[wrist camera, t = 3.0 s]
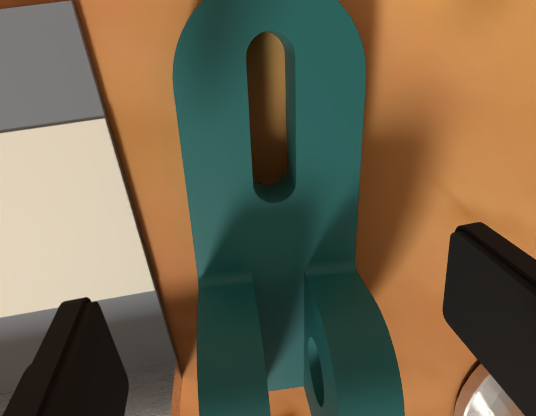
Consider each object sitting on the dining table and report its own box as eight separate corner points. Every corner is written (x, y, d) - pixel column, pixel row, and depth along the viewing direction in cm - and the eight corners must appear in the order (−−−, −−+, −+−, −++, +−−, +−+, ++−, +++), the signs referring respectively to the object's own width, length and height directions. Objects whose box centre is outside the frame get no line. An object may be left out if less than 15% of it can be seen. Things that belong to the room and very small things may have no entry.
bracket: (334, 348, 22) (394, 499, 15) (213, 363, 21) (214, 530, 14) (350, -22, 15) (482, -77, 8) (166, -17, 14) (118, -73, 7)
